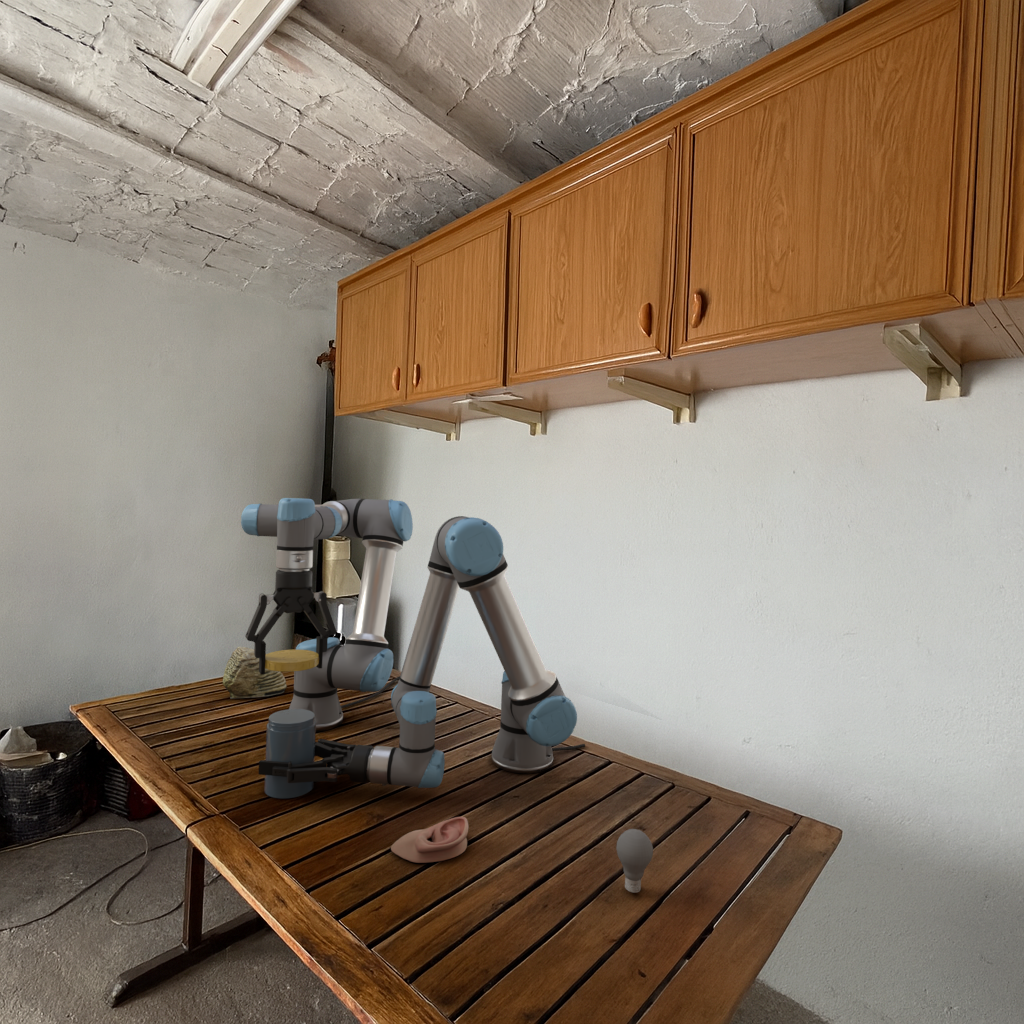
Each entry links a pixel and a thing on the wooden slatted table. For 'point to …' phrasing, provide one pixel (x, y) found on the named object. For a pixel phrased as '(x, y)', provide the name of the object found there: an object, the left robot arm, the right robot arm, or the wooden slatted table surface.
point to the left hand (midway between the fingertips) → (290, 669)
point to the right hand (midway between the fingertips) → (271, 756)
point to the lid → (291, 660)
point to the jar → (289, 749)
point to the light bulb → (634, 857)
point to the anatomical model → (434, 842)
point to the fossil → (250, 676)
